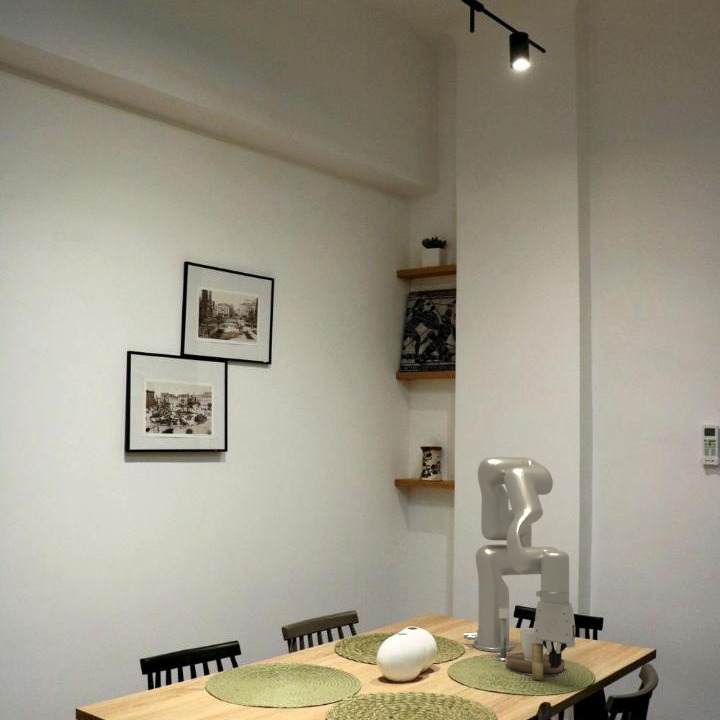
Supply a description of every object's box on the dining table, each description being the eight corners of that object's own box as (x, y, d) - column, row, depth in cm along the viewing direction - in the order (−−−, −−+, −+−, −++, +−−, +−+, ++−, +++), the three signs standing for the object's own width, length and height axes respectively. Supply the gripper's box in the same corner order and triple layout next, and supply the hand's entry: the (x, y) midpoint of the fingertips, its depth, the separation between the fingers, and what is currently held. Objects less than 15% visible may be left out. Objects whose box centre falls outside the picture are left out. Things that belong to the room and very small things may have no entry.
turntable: (507, 657, 253) (507, 626, 254) (562, 661, 250) (562, 629, 251) (507, 677, 232) (507, 643, 232) (568, 681, 229) (568, 647, 230)
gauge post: (495, 660, 251) (495, 608, 252) (495, 656, 256) (495, 605, 257) (512, 661, 250) (512, 609, 251) (512, 657, 255) (512, 606, 256)
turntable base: (505, 674, 237) (505, 673, 237) (505, 658, 253) (505, 657, 253) (568, 678, 234) (568, 677, 234) (563, 662, 251) (563, 661, 251)
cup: (514, 658, 245) (514, 629, 245) (540, 654, 250) (540, 625, 250) (530, 663, 239) (530, 634, 239) (557, 659, 244) (557, 630, 244)
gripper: (523, 596, 232) (523, 665, 230) (577, 602, 224) (578, 674, 222) (533, 592, 238) (533, 660, 237) (586, 598, 230) (586, 668, 229)
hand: (555, 667), depth 229 cm, fingers closed
